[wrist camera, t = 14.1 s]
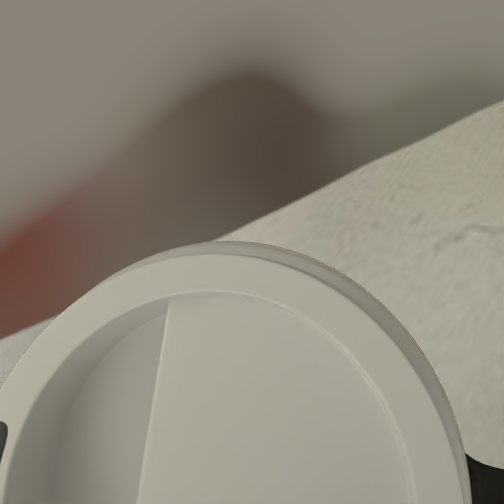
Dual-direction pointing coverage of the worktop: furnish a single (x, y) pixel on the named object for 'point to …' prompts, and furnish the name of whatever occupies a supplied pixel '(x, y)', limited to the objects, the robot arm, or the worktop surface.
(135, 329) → the coffee cup
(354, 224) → the worktop surface
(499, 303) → the worktop surface
